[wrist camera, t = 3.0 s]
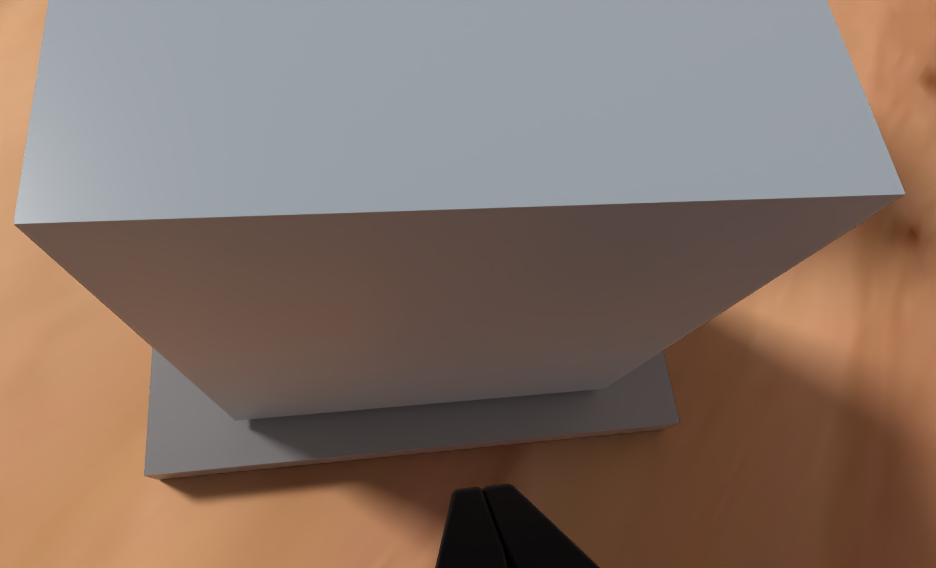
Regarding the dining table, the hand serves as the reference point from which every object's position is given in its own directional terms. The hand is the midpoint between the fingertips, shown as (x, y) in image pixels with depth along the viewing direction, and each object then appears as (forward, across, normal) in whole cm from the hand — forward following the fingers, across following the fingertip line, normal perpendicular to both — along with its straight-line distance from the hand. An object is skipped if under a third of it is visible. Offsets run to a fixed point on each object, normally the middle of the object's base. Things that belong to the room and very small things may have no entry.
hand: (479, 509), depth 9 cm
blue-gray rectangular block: (+8, 0, +1) cm, 8 cm away
